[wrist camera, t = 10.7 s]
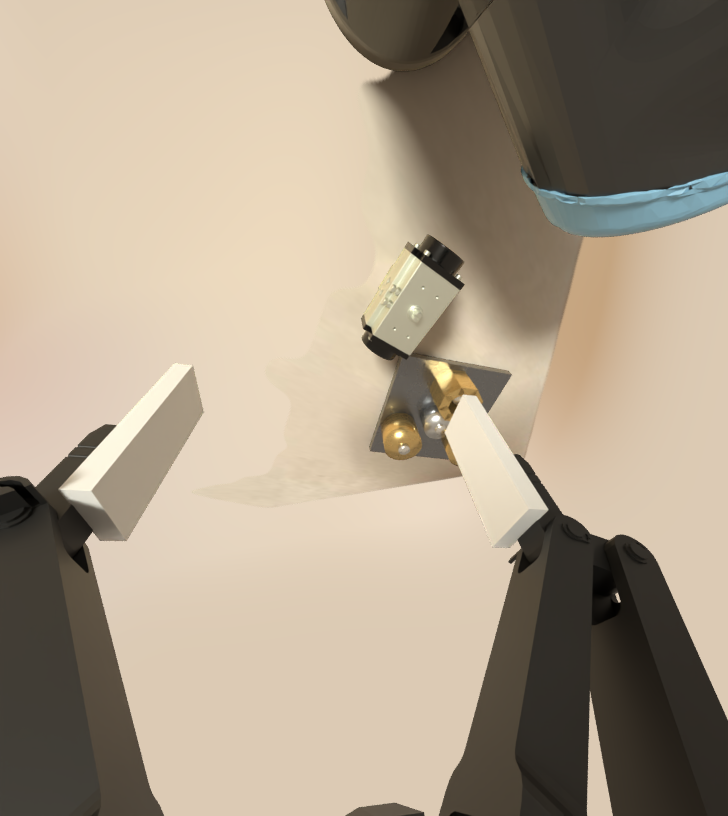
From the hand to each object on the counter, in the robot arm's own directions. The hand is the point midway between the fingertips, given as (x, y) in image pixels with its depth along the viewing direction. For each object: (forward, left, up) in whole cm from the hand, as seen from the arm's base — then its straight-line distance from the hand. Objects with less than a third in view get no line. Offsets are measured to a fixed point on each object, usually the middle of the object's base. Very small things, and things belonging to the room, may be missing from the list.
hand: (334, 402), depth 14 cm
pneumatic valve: (-1, +7, -26) cm, 27 cm away
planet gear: (+12, +20, -24) cm, 34 cm away
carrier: (+18, +20, -26) cm, 37 cm away
